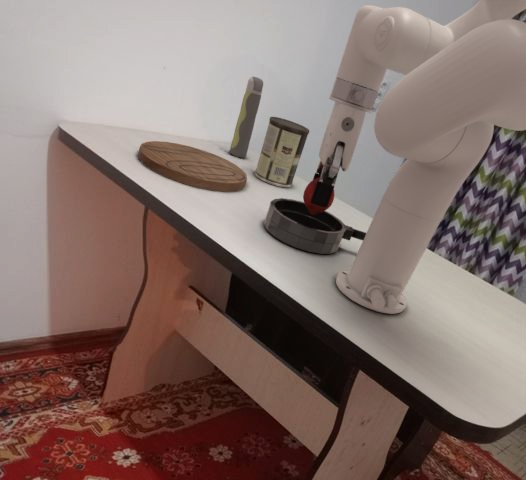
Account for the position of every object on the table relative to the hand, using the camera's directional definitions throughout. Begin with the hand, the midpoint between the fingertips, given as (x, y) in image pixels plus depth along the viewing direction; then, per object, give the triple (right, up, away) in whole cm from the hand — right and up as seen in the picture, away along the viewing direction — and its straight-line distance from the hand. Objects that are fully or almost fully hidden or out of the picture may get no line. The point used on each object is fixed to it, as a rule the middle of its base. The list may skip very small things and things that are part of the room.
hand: (317, 199), depth 87 cm
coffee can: (-8, +16, +34) cm, 38 cm away
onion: (-1, -3, +2) cm, 3 cm away
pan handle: (+11, -7, +5) cm, 14 cm away
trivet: (-27, +13, +20) cm, 36 cm away
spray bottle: (-18, +27, +44) cm, 55 cm away
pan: (-3, -6, +5) cm, 8 cm away
